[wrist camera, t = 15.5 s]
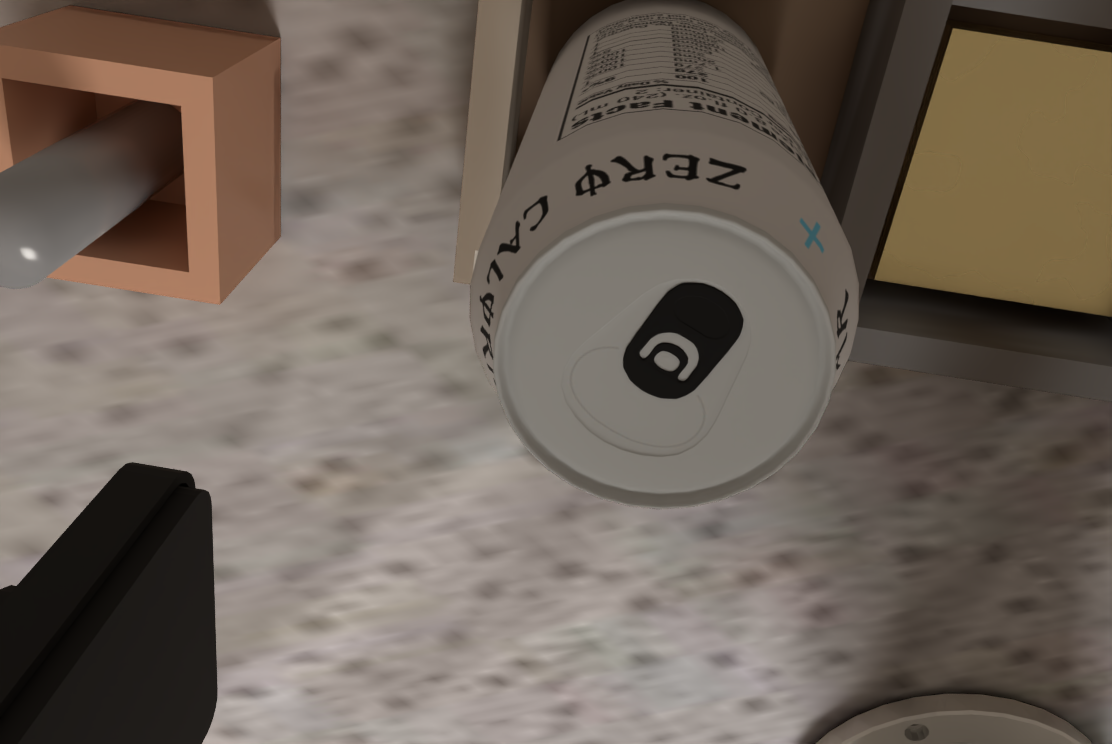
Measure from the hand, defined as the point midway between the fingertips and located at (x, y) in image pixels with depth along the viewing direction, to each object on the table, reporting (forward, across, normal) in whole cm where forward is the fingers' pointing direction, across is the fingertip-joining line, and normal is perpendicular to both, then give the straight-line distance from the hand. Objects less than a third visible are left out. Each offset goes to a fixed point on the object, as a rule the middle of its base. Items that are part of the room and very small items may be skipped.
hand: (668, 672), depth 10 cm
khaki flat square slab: (+20, -9, -1) cm, 22 cm away
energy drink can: (+20, 0, -1) cm, 21 cm away
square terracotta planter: (+21, +14, +2) cm, 26 cm away
